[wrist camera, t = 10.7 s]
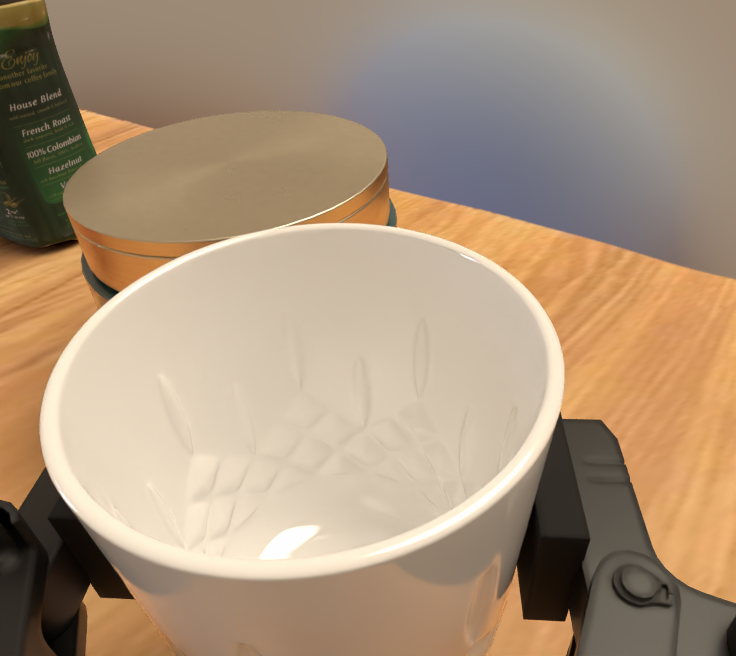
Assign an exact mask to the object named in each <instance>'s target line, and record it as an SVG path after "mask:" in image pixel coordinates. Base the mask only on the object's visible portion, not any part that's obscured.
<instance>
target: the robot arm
mask: <svg viewBox="0 0 736 656" xmlns="http://www.w3.org/2000/svg"><path fill="white" fill-rule="evenodd" d="M517 571H518V579H519V587H520V595H521V603H522V611H523V619H528V620H548V621H565V620H566V617H567V613H568V610H569V611H570V616H571V621H572V627H573V632H574V634H573V637H572V640H571V643H570V646H569V649H568V652H567V655H566V656H736V603H733V602H730V601H727V600H724V599H721V598H718V597H715V596H712V595H709V594H706V593H703V592H701V591H698V590H696V589H694V588H692V587H689V586H687V585H686V584H684V583H683V582H681V581H680V580H678V579H677V578H675V577H674V576H673V575H672V574H671V573H670V572H669V571H668V570H667V569H666V568H665V567H664V566H663V564H662V563H661V562H660V560H659V559H658V558H657V556H656V554H655V551H654V549H653V547H652V544H651V541H650V538H649V535H648V532H647V529H646V526H645V523H644V520H643V517H642V513H641V510H640V507H639V504H638V501H637V498H636V495H635V492H634V489H633V486H632V483H630V477H629V473H628V470H627V467H626V465H624V458H623V455H622V452H621V449H620V446H619V443H618V440H617V438H616V437H615V436H614V435H613V433H612V432H611V431H610V430H609V429H608V428H607V426H606V425H605V424H604V423H603V422H602V421H601V420H584V419H562V416H561V412H560V413H559V417H558V420H557V424H556V427H555V431H554V434H553V438H552V441H551V445H550V448H549V452H548V455H547V459H546V462H545V466H544V469H543V473H542V476H541V480H540V483H539V487H538V490H537V494H536V498H535V501H534V505H533V509H532V512H531V516H530V519H529V523H528V527H527V530H526V534H525V538H524V541H523V545H522V548H521V551H520V555H519V558H518V562H517ZM90 583H91V584H92V586H93V587H94V589H95V590H96V592H97V593H98V595H99V596H100V597H101V598H121V599H135V598H134V597H133V595H132V594H131V593H130V591H129V590H128V588H127V587H126V586H125V584H124V583H123V581H122V580H121V579H120V577H119V576H118V574H117V573H116V571H115V570H114V569H113V567H112V566H111V565H110V563H109V562H108V560H107V559H106V558H105V556H104V555H103V553H102V552H101V551H100V549H99V548H98V547H97V545H96V544H95V542H94V541H93V540H92V538H91V537H90V536H89V534H88V533H87V531H86V530H85V529H84V527H83V526H82V525H81V523H80V522H79V520H78V519H77V518H76V516H75V515H74V514H73V512H72V511H71V509H70V508H69V507H68V505H67V504H66V503H65V501H64V500H63V499H62V497H61V496H60V494H59V492H58V491H57V489H56V487H55V486H54V484H53V482H52V480H51V478H50V476H49V473H48V471H47V468H46V467H45V469H44V470H43V472H42V473H41V475H40V477H39V478H38V480H37V481H36V483H35V485H34V486H33V488H32V489H31V491H30V493H29V494H28V496H27V497H26V499H25V501H24V502H23V504H22V505H21V507H20V509H19V510H17V509H16V508H15V507H14V506H13V505H12V504H11V503H10V502H6V501H2V500H0V656H85V650H86V633H87V611H86V606H85V604H84V603H83V602H82V600H83V598H84V596H85V594H86V591H87V589H88V587H89V585H90Z"/></svg>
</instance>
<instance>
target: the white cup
mask: <svg viewBox="0 0 736 656" xmlns="http://www.w3.org/2000/svg"><path fill="white" fill-rule="evenodd" d="M564 386H565V368H564V360H563V354H562V349H561V345H560V342H559V339H558V336H557V333H556V331H555V329H554V326H553V324H552V322H551V320H550V319H549V317H548V315H547V313H546V312H545V310H544V309H543V307H542V306H541V304H540V303H539V302H538V301H537V299H536V298H535V297H534V296H533V295H532V293H531V292H530V291H529V290H528V289H527V288H526V287H525V286H524V285H523V284H522V283H521V282H520V281H518V280H517V279H516V278H515V277H514V276H513V275H511V274H510V273H509V272H507V271H506V270H505V269H503V268H502V267H500V266H499V265H497V264H496V263H494V262H493V261H491V260H489V259H488V258H486V257H484V256H482V255H480V254H478V253H476V252H474V251H472V250H470V249H468V248H466V247H463V246H461V245H459V244H456V243H453V242H451V241H448V240H445V239H442V238H439V237H436V236H432V235H429V234H425V233H421V232H417V231H413V230H408V229H403V228H397V227H390V226H383V225H373V224H360V223H319V224H305V225H295V226H287V227H280V228H274V229H269V230H263V231H258V232H254V233H249V234H245V235H241V236H237V237H234V238H230V239H227V240H223V241H220V242H217V243H214V244H211V245H208V246H206V247H203V248H200V249H198V250H195V251H193V252H190V253H188V254H185V255H183V256H181V257H179V258H176V259H174V260H172V261H170V262H168V263H166V264H164V265H162V266H160V267H158V268H157V269H155V270H153V271H151V272H149V273H148V274H146V275H144V276H143V277H141V278H139V279H138V280H136V281H135V282H133V283H132V284H130V285H129V286H127V287H126V288H125V289H123V290H122V291H120V292H119V293H118V294H117V295H115V296H114V297H113V298H111V299H110V300H109V301H108V302H107V303H105V304H104V305H103V306H102V307H101V308H100V309H99V310H98V311H97V312H95V313H94V314H93V315H92V316H91V317H90V318H89V319H88V320H87V321H86V323H85V324H84V325H83V326H82V327H81V328H80V329H79V330H78V332H77V333H76V334H75V335H74V337H73V338H72V339H71V341H70V342H69V343H68V345H67V346H66V348H65V349H64V351H63V352H62V354H61V356H60V357H59V359H58V361H57V363H56V365H55V367H54V369H53V371H52V373H51V375H50V378H49V380H48V383H47V386H46V389H45V392H44V396H43V400H42V404H41V411H40V422H39V432H40V443H41V449H42V454H43V458H44V462H45V465H46V468H47V471H48V473H49V476H50V478H51V480H52V482H53V484H54V486H55V487H56V489H57V491H58V492H59V494H60V496H61V497H62V499H63V500H64V501H65V503H66V504H67V505H68V507H69V508H70V509H71V511H72V512H73V514H74V515H75V516H76V518H77V519H78V520H79V522H80V523H81V525H82V526H83V527H84V529H85V530H86V531H87V533H88V534H89V536H90V537H91V538H92V540H93V541H94V542H95V544H96V545H97V547H98V548H99V549H100V551H101V552H102V553H103V555H104V556H105V558H106V559H107V560H108V562H109V563H110V565H111V566H112V567H113V569H114V570H115V571H116V573H117V574H118V576H119V577H120V579H121V580H122V581H123V583H124V584H125V586H126V587H127V588H128V590H129V591H130V593H131V594H132V595H133V597H134V598H135V600H136V601H137V603H138V604H139V605H140V607H141V608H142V610H143V611H144V612H145V614H146V615H147V617H148V618H149V620H150V621H151V622H152V624H153V625H154V627H155V628H156V630H157V631H158V632H159V634H160V635H161V637H162V638H163V639H164V641H165V642H166V644H167V645H168V647H169V648H170V649H171V651H172V652H173V653H174V655H175V656H487V654H488V652H489V650H490V648H491V646H492V643H493V640H494V636H495V633H496V630H497V627H498V625H499V622H500V619H501V616H502V613H503V611H504V608H505V605H506V603H507V598H508V594H509V591H510V587H511V583H512V580H513V576H514V573H515V569H516V565H517V562H518V558H519V555H520V551H521V548H522V545H523V541H524V538H525V534H526V530H527V527H528V523H529V519H530V516H531V512H532V509H533V505H534V501H535V498H536V494H537V490H538V487H539V483H540V480H541V476H542V473H543V469H544V466H545V462H546V459H547V455H548V452H549V448H550V445H551V441H552V438H553V434H554V431H555V427H556V424H557V420H558V417H559V413H560V410H561V406H562V401H563V395H564Z"/></svg>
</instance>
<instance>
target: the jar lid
mask: <svg viewBox="0 0 736 656" xmlns="http://www.w3.org/2000/svg"><path fill="white" fill-rule="evenodd" d="M63 204H64V207H65V210H66V212H67V215H68V217H69V219H70V222H71V224H72V227H73V229H74V232H75V234H76V236H77V239H78V241H79V244H80V246H81V249H82V251H83V253H84V256H85V258H86V261H87V263H88V265H89V267H90V269H91V271H92V272H93V273H94V274H95V275H96V277H97V278H98V279H99V280H101V281H102V282H103V283H105V284H106V285H107V286H109V287H110V288H112V289H114V290H116V291H118V292H120V291H122V290H123V289H125V288H126V287H127V286H129V285H130V284H132V283H133V282H135V281H136V280H138V279H139V278H141V277H143V276H144V275H146V274H148V273H149V272H151V271H153V270H155V269H157V268H158V267H160V266H162V265H164V264H166V263H168V262H170V261H172V260H174V259H176V258H179V257H181V256H183V255H185V254H188V253H190V252H193V251H195V250H198V249H200V248H203V247H206V246H208V245H211V244H214V243H217V242H220V241H223V240H227V239H230V238H234V237H237V236H241V235H245V234H249V233H254V232H258V231H263V230H269V229H274V228H280V227H287V226H295V225H305V224H319V223H360V224H373V225H383V226H386V225H387V223H388V220H389V213H390V205H389V182H388V159H387V150H386V148H385V146H384V144H383V142H382V140H381V139H380V138H379V137H378V136H377V135H376V134H375V133H374V132H372V131H371V130H369V129H368V128H366V127H364V126H362V125H360V124H358V123H355V122H352V121H350V120H347V119H343V118H339V117H335V116H330V115H325V114H319V113H310V112H300V111H252V112H239V113H230V114H223V115H216V116H209V117H203V118H198V119H193V120H188V121H184V122H180V123H176V124H172V125H169V126H165V127H161V128H158V129H155V130H152V131H149V132H146V133H143V134H140V135H138V136H135V137H132V138H130V139H127V140H125V141H123V142H121V143H119V144H116V145H114V146H112V147H110V148H108V149H107V150H105V151H103V152H101V153H99V154H98V155H96V156H95V157H93V158H92V159H90V160H89V161H87V162H86V163H85V164H84V165H83V166H81V167H80V168H79V169H78V170H77V171H76V172H75V173H74V174H73V176H72V177H71V178H70V179H69V181H68V183H67V185H66V186H65V190H64V193H63Z"/></svg>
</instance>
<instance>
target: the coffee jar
mask: <svg viewBox="0 0 736 656" xmlns="http://www.w3.org/2000/svg"><path fill="white" fill-rule="evenodd" d="M96 155H97V154H96V152H95V149H94V147H93V144H92V142H91V139H90V137H89V134H88V132H87V129H86V127H85V124H84V121H83V119H82V116H81V114H80V111H79V108H78V106H77V103H76V100H75V98H74V95H73V93H72V90H71V88H70V85H69V82H68V79H67V77H66V74H65V72H64V69H63V66H62V63H61V61H60V58H59V55H58V52H57V49H56V46H55V42H54V39H53V35H52V32H51V27H50V23H49V18H48V13H47V8H46V4H45V0H0V236H1V237H3V238H6V239H8V240H10V241H13V242H16V243H19V244H22V245H26V246H30V247H46V246H49V245H52V244H56V243H60V242H65V241H68V240H72V239H73V240H76V239H77V236H76V234H75V232H74V229H73V227H72V224H71V222H70V219H69V217H68V215H67V212H66V210H65V207H64V204H63V193H64V190H65V186H66V185H67V183H68V181H69V179H70V178H71V177H72V176H73V174H74V173H75V172H76V171H77V170H78V169H79V168H80V167H81V166H83V165H84V164H85V163H86V162H87V161H89V160H90V159H92V158H93V157H95V156H96Z"/></svg>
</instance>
